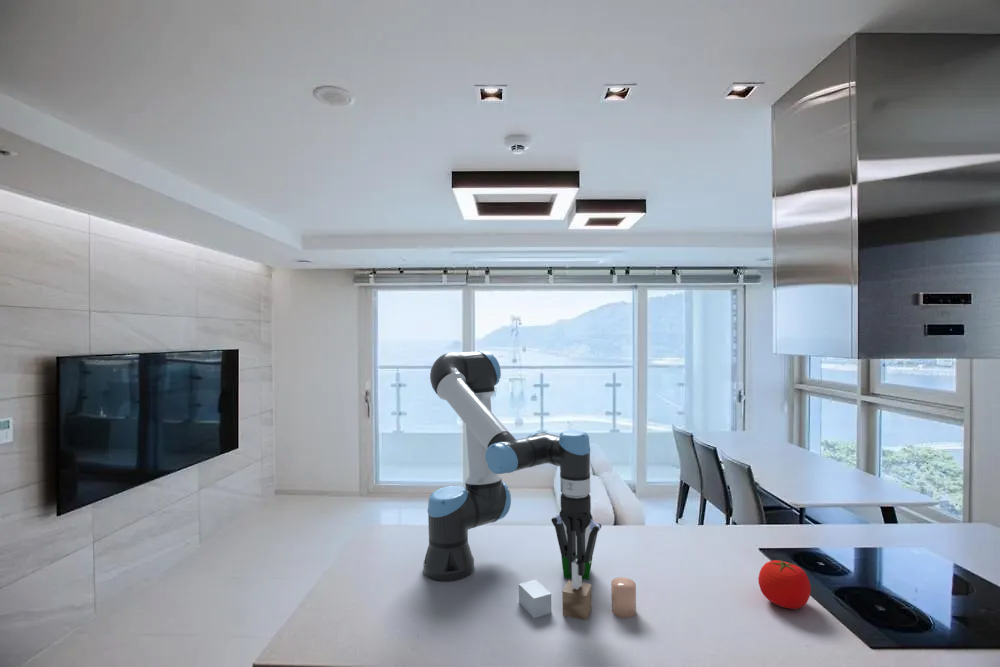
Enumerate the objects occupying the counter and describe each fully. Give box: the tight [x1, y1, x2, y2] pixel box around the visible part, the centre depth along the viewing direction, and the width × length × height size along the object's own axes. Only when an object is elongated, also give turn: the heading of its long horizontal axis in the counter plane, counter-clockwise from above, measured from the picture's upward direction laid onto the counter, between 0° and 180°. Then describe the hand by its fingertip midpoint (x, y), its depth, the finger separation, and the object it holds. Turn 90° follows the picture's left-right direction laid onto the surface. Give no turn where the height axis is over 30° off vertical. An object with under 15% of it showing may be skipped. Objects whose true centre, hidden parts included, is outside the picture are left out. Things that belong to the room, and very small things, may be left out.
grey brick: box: [518, 579, 553, 619], centre depth 128 cm, size 8×5×5 cm, turn 25°
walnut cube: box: [562, 579, 593, 621], centre depth 126 cm, size 6×6×6 cm
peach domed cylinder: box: [610, 577, 637, 619], centre depth 126 cm, size 6×6×7 cm
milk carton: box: [560, 522, 593, 581], centre depth 145 cm, size 9×9×20 cm
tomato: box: [757, 559, 812, 610], centre depth 128 cm, size 11×12×10 cm
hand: (577, 586), depth 126 cm, fingers closed
